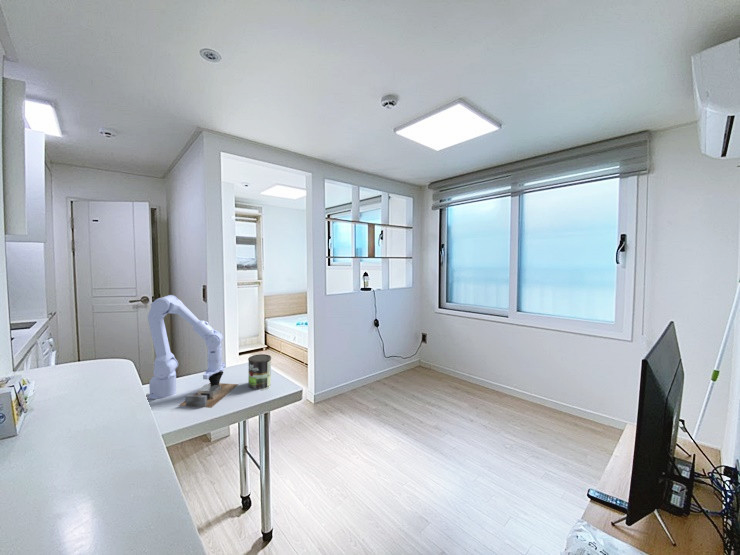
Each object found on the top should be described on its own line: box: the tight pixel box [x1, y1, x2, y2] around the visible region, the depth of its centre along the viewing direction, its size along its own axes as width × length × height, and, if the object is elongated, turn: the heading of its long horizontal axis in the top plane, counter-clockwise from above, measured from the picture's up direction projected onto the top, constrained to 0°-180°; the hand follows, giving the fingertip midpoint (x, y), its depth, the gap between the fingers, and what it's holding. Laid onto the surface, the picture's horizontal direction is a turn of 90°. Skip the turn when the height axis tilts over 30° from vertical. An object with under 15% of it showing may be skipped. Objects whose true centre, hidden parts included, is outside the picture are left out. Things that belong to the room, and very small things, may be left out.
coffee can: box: [247, 353, 272, 391], centre depth 144 cm, size 10×10×14 cm
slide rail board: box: [178, 382, 239, 409], centre depth 133 cm, size 14×22×5 cm, turn 176°
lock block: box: [197, 383, 221, 399], centre depth 132 cm, size 7×6×3 cm
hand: (215, 388), depth 136 cm, fingers closed
